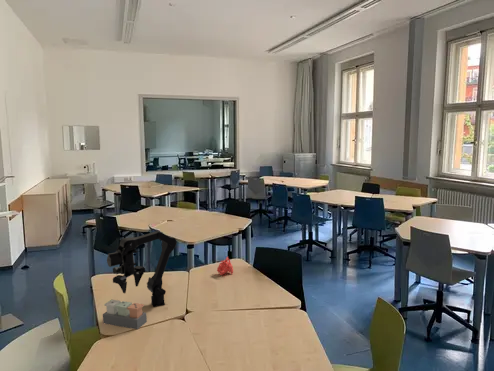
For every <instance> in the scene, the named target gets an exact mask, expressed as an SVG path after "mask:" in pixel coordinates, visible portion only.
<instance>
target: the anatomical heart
mask: <svg viewBox="0 0 494 371" xmlns="http://www.w3.org/2000/svg"><path fill="white" fill-rule="evenodd" d="M216 271H217V273H218V274H220V275H221V276H223V275H225V274H226V273H228V272H229V273H230V274H232V275H233V273H234V268H233V264H232V262H231V259H230V258H229V256H226V257H225V259H224V260H220V262H219V264H218V266H217V270H216Z"/></svg>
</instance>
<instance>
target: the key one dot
mask: <svg viewBox="0 0 494 371" xmlns="http://www.w3.org/2000/svg"><path fill="white" fill-rule="evenodd" d="M121 302H122V301H121V300H118V299H111V300H109V301H107V302H105V303H104V307H106V312H107V313H108V314H116V313H117V312H118V308H116V305H118V304H119V303H121Z"/></svg>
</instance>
